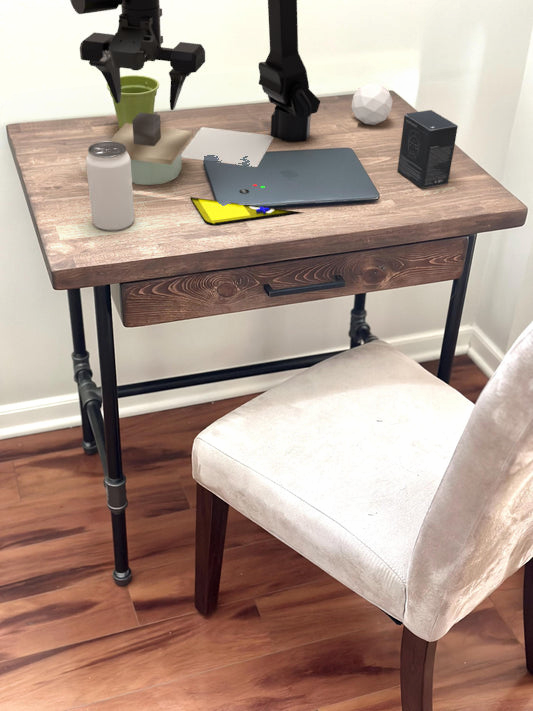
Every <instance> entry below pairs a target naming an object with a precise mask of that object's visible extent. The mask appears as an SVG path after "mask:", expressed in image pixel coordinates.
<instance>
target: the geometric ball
mask: <svg viewBox="0 0 533 711" xmlns="http://www.w3.org/2000/svg"><path fill="white" fill-rule="evenodd" d="M393 102H394V100H393V98H392V96H391V93H390V91H389V89H387V87H385V86H384V85H382V84H381V83H377V82H367V83H366V84H363V85H361V86H360V87H358V88H357V90H356V91H355V92H354V95H353V96H352V101H351V107H350V108H351V109H352V111H353V114H354V117H355V118H356V119H357V120H359V122H362V123H363V124H365V125H371V126H376V125H378V124H379V123H382V122H383V121H385V120H386V119H387V118H388V116H389V115H390V113H391V110H392V106H393Z"/></svg>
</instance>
